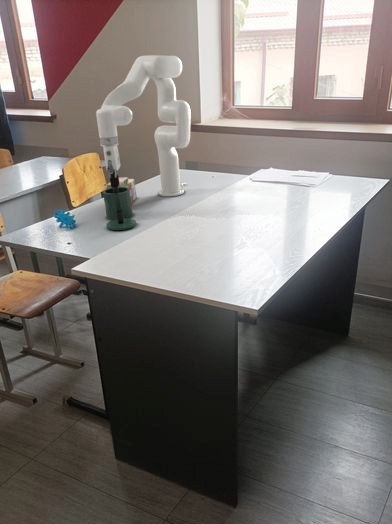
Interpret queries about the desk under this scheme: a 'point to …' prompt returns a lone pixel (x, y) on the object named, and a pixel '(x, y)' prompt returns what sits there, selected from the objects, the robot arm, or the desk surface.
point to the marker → (115, 189)
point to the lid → (121, 222)
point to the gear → (65, 219)
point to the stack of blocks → (129, 184)
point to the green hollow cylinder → (117, 202)
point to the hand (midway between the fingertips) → (115, 185)
